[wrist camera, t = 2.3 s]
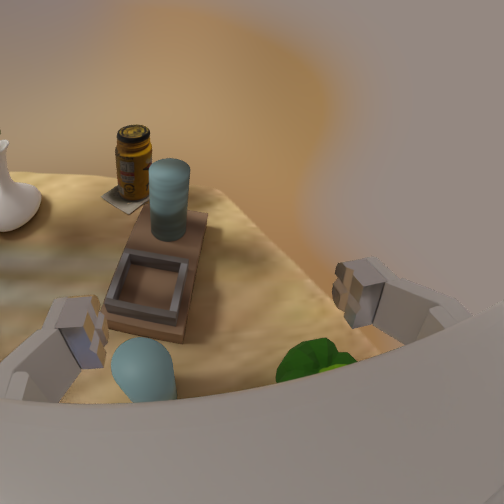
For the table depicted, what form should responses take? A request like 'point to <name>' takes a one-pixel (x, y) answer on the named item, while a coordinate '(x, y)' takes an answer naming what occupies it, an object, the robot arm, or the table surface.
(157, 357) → the column
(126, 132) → the condiment
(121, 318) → the base
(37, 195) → the flower in vase
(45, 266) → the table surface
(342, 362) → the bell pepper
